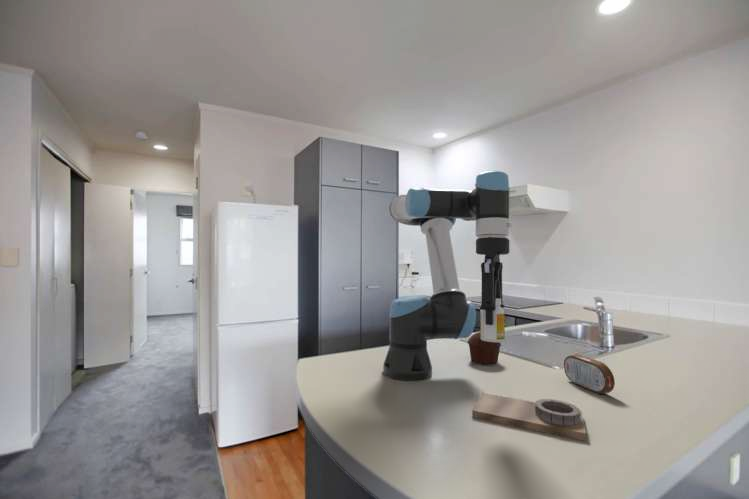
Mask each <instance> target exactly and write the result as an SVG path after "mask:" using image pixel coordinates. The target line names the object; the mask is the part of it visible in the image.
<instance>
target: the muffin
mask: <svg viewBox="0 0 749 499" xmlns="http://www.w3.org/2000/svg"><path fill="white" fill-rule="evenodd" d="M467 344H468V347H469V354H470V360H471V361H470V362H472V363H473V362H474V364H476V365H480V364H481V366H494V365H497V364H498V361H499V355H500V349H501V347H502V342H487V341H483V340H481V338H480V331H478V332H475V333H474V334H473V333H472V334H471V335H470V336H469V339H468V340H467Z"/></svg>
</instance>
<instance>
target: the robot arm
mask: <svg viewBox="0 0 749 499" xmlns="http://www.w3.org/2000/svg"><path fill="white" fill-rule="evenodd" d="M509 185H510V184H509V175H508V174H507V173H506V172H504V171H500V170H499V171H498V170H496V171H495V170H494V171H491V170H490V171H484V172H481V173H479V174H478V175H477V176H476V179H475V184H474V186H475V188H474V189H472V190H471V189H470V190H467V189H441V188H427V187H426V188H424V187H414V188H413V187H412V188H409V189H408V191H407V193H406V194H400V195H397V196H396V197H395V198H393V199H392V200H391V202H390V205H389V207H388V208H389V214H390V216H391V217H392V219H393V220H395V221H396V222H397V223H399V224H402V225H406V226H415V227H416V226H418V227H420V231H421V233H422V234H424V235H425V240H426V246H427V254H428V255H427V256H428V262H429V269H430V275H431V277H430V278H431V285H432V292H433V294H432V295H431V296H430V297H429V300H428V298H427V296H420V295H419V296H407V297H400V298H396V299H394V300H392V302H391V303H390V307H389V308H390V309H389V315H388V316H389V337H388V338H389V339H388V340H389V341H388V344H389V346H388V350H387V353H386V356H385V358H384V362H383V365H382V366H383V367H382V368H383V371H382V372H383V374H384V375H385V376H387V377H389V378H392V379H395V380H399V381H400V380H401V381H421V380H426V379H429V378H431V377H432V375H433V365H432V361H431V358H430V355H429V352H428V344H427V343H428V342H427V341H428V340H436V339H438V340H439V339H440V340H441V339H443V340H445V339H450V340H451V339H452V340H453V339H454V340H458V339H467V338H470V337H471V336H472V335H473V332H474V330H475V326H476V321H477V320H476V319H477V311H476V306H475V304H474V302H473V301H471V300H467V297H466V293H465V292H464V291H462V290H460V284H459V279H458V273H457V268H456V262H455V256H454V250H453V244H452V238H451V232H450V231H452V229H453V226H454V225H455V223H456V220H457V219H458V220H459V219H461V220H463V221H466V222H471V221H472V222H473V221H475V237H477V238H476V239H475V253H476V254H477V255H480V256H481V255H482V256H484V262H483V261H482V262H481V263H480V270H481V271H480V272H481V305H480V306H479V310H484V339H490V340H497V310H495V309H496V307H495V304H496V298H499V299H501V305H500V307H501V308H502V309H505V304H504V302H503V262H501V260H500V258H501V255H502V256H504V255H509V253H510V239H509V238H508V237H509V236H510V229H509V228H511V227H513V224H512V223H511V222H510V186H509Z"/></svg>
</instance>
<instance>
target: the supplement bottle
mask: <svg viewBox="0 0 749 499" xmlns="http://www.w3.org/2000/svg"><path fill="white" fill-rule="evenodd" d="M500 305H501V299H499V298H496V304H495V307H496V309H495V310H497V340H490V339H484V310H480V309H479V310H480V312H479V314H480V322H479V323H480V325H479V326H480V327H479V328H480V329H479V332H480V338H481V340H483V341H487V342H500V343H502V342H505V341H506V338H505V336H506V333H505V331H506V330H505V327H506V326H505V310H504V309H505V308H501V307H500Z"/></svg>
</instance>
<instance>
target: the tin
mask: <svg viewBox="0 0 749 499" xmlns="http://www.w3.org/2000/svg"><path fill="white" fill-rule="evenodd" d="M563 369H564V373H565V375H566V377H567V379H568V380H569V381H570V382H571V383H572V384H575V385H576V386H579V387H581V388H583V389H585V390H588V391H590V392H593V393H595V394H599V395H602V394H609V393H611V392H612V391H613V390H614V388H615V385H616V384H615V377H614V374H613V372H612V370H611V369H610V367H609V366H608V365H606V364H605V363H604V362H602V361H600V360H596V359H593V358H590V357H587V356H585V355H582V354H579V353H576V354H571V355H568V356H566V357H565V358H564V360H563Z"/></svg>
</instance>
